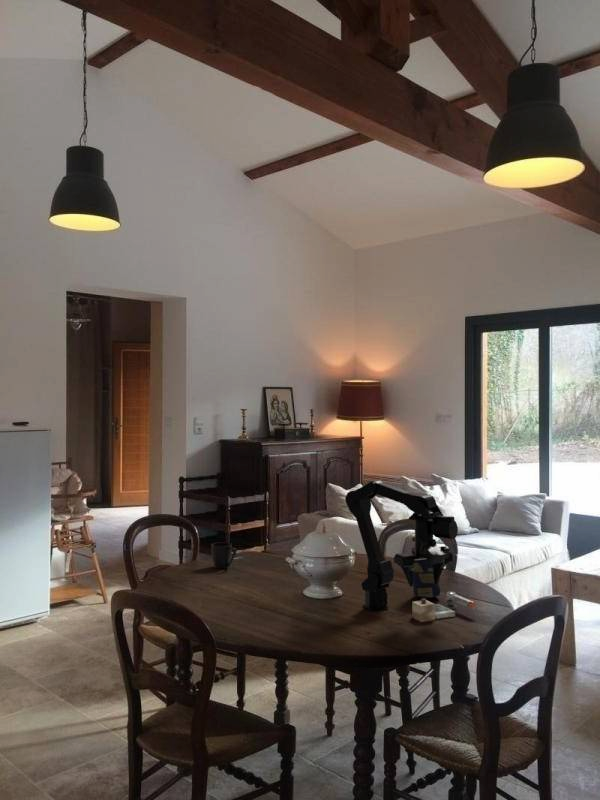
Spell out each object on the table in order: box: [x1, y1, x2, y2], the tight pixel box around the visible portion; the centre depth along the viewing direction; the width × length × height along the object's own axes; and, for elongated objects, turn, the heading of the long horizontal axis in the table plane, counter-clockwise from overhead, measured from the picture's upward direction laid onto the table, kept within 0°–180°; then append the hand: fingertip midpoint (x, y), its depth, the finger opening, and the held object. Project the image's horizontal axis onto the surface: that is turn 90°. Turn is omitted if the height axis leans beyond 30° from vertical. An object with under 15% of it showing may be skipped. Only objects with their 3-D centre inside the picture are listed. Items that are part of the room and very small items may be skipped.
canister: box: [411, 546, 441, 598], centre depth 243 cm, size 10×10×18 cm
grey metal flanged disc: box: [444, 599, 458, 610], centre depth 231 cm, size 4×4×2 cm
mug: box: [210, 541, 237, 569], centre depth 285 cm, size 8×12×10 cm
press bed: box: [435, 603, 456, 620], centre depth 224 cm, size 7×9×2 cm
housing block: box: [411, 597, 436, 623], centre depth 219 cm, size 5×5×6 cm
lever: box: [445, 591, 477, 610], centre depth 226 cm, size 3×14×2 cm, turn 24°
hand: (423, 585), depth 219 cm, fingers open, 9 cm apart
